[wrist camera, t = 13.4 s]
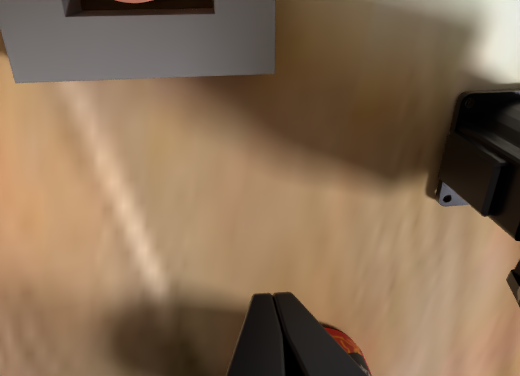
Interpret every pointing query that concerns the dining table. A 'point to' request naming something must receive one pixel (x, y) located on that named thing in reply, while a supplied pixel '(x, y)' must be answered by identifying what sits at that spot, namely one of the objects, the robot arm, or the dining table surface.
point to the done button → (133, 1)
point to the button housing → (136, 41)
